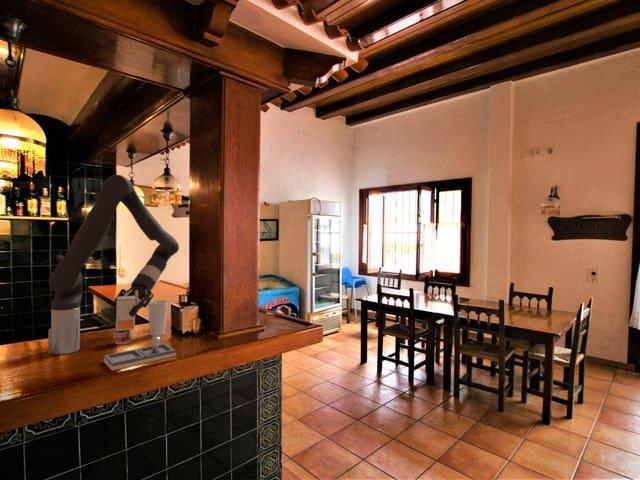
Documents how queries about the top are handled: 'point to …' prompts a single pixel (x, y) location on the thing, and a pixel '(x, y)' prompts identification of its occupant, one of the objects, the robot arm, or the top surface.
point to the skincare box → (125, 313)
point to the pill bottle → (122, 336)
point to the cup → (157, 317)
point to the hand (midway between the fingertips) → (122, 314)
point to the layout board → (139, 355)
